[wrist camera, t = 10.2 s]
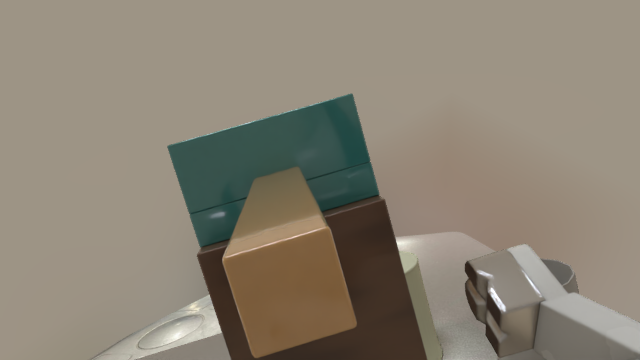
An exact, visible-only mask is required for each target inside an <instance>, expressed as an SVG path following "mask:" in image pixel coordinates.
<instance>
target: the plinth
mask: <svg viewBox="0 0 640 360" xmlns="http://www.w3.org/2000/svg"><path fill="white" fill-rule="evenodd" d="M322 213H323V215H324V217H325V219H326V221H327V223H328V225H329V227H330V229H331V233H332V236H333V240H334V243H335V247H336V250H337V254H338V257H339V261H340V264H341V268H342V271H343V275H344V278H345V282H346V285H347V289H348V292H349V296H350V299H351V303H352V306H353V310H354V313H355V317H356V320H357V325H356V327H355V328H353V329H350V330H346V331H343V332H340V333H337V334H334V335H330V336H327V337H324V338H321V339H317V340H314V341H311V342H308V343H304V344H301V345H298V346H295V347H291V348H288V349H285V350H282V351H279V352H275V353H272V354H269V355H266V356H262V357H259V358H254V356H253V355H252V353H251V350H250V347H249V344H248V341H247V338H246V334H245V331H244V328H243V325H242V322H241V319H240V316H239V313H238V309H237V306H236V303H235V300H234V297H233V294H232V291H231V288H230V285H229V281H228V278H227V275H226V272H225V269H224V266H223V263H222V258H223V255H224V253H225V250H226V248H227V246H228V243H229V241H230V239H228V240H225V241H221V242H218V243H215V244H211V245H208V246H204V247H201V249H200V251H199V252H198V254H197V257H198V261H199V264H200V266H201V269H202V273H203V275H204V279H205V282H206V285H207V288H208V291H209V294H210V297H211V300H212V303H213V306H214V309H215V312H216V315H217V318H218V321H219V325H220V328H221V331H222V334H223V337H224V340H225V343H226V346H227V349H228V352H229V355H230V358H231V360H427V356H426V352H425V348H424V345H423V341H422V337H421V333H420V329H419V326H418V322H417V318H416V314H415V311H414V307H413V303H412V299H411V296H410V292H409V288H408V284H407V281H406V277H405V273H404V269H403V266H402V262H401V258H400V254H399V250H398V247H397V243H396V239H395V235H394V232H393V228H392V224H391V220H390V217H389V213H388V209H387V205H386V202H385V199H383V198H382V197H381V196H379V195H377V196H374V197H370V198H367V199H364V200H360V201H357V202H353V203H350V204H347V205H343V206H340V207H337V208H333V209H330V210H326V211H323V212H322Z"/></svg>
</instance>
